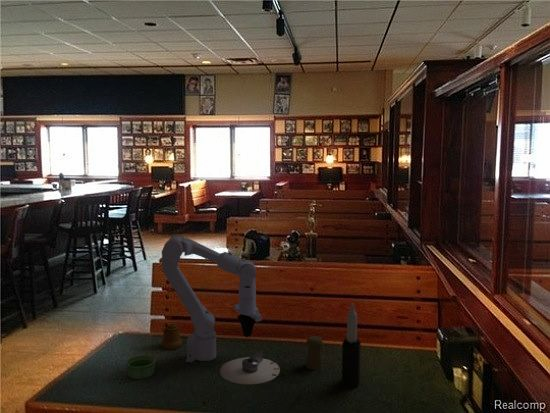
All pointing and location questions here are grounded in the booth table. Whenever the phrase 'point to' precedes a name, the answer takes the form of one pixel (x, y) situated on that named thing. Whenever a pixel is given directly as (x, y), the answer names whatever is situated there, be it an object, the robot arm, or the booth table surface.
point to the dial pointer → (252, 362)
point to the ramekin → (141, 366)
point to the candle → (351, 352)
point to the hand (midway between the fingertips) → (247, 336)
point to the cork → (314, 354)
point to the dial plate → (237, 375)
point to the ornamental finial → (171, 337)
